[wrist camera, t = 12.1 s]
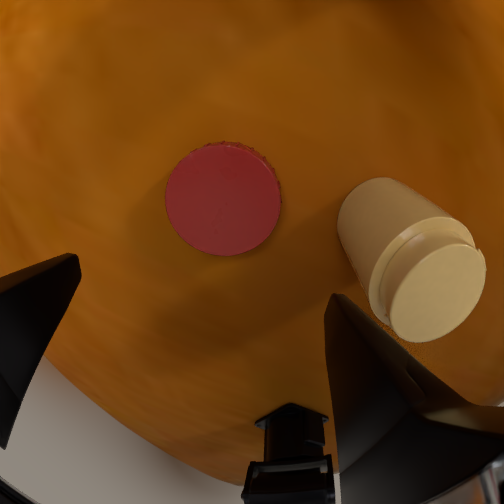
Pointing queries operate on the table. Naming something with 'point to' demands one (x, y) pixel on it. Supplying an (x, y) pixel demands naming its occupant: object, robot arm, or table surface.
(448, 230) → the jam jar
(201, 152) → the lid
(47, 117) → the table surface
